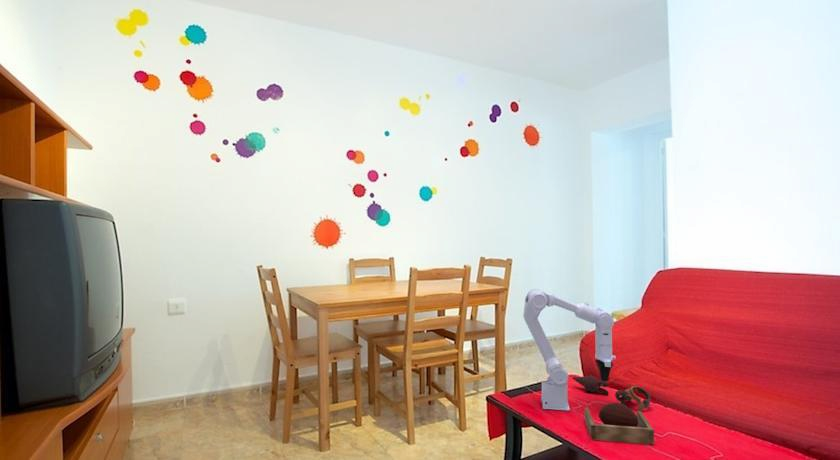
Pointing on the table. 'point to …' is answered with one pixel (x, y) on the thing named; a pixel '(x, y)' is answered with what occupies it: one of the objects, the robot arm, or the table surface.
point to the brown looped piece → (633, 397)
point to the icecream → (592, 384)
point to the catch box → (621, 430)
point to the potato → (618, 415)
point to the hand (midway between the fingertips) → (604, 380)
